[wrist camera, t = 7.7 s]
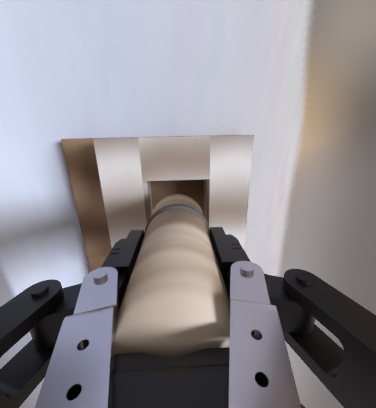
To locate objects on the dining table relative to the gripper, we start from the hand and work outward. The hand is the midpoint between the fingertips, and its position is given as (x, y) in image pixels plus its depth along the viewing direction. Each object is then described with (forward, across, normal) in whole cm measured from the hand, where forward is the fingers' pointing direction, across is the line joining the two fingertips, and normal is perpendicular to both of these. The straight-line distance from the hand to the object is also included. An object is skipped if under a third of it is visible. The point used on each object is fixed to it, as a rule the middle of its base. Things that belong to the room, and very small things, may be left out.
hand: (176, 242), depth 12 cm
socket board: (+11, +2, +4) cm, 12 cm away
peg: (+5, 0, 0) cm, 5 cm away
